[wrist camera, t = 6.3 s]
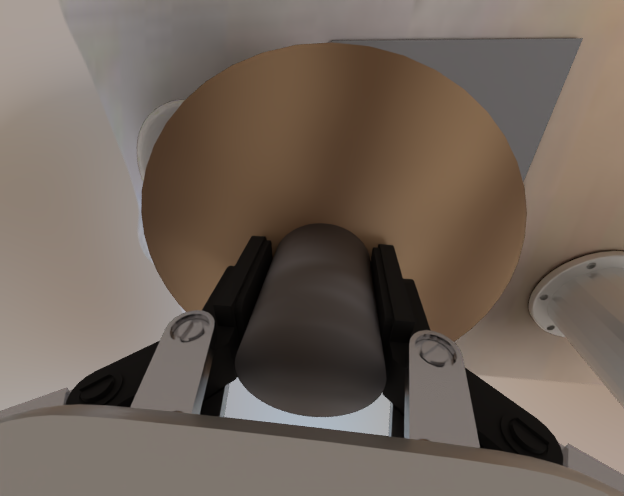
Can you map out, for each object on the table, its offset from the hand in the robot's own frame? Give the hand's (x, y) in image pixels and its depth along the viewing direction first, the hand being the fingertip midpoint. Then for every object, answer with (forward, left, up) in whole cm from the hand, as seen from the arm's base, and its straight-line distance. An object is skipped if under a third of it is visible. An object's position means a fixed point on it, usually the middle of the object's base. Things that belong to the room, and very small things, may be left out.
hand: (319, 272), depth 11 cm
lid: (0, 0, -1) cm, 1 cm away
